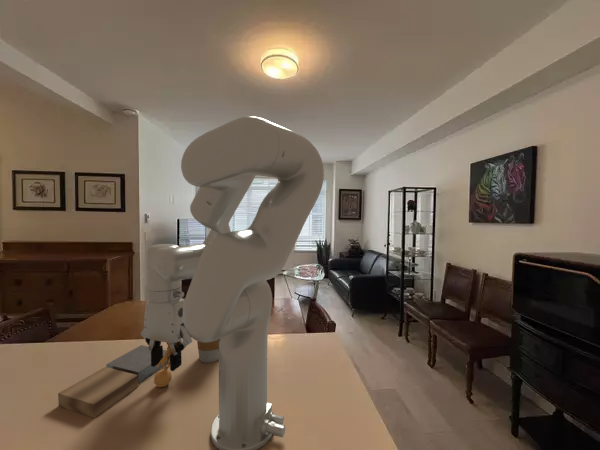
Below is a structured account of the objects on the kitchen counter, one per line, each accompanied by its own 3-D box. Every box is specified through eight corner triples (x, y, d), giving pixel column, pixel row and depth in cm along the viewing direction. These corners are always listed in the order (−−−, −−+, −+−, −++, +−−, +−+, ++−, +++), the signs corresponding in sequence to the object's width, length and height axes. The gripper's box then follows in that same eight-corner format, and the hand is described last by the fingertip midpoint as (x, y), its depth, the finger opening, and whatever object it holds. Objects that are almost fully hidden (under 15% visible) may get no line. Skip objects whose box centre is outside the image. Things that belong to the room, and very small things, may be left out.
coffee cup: (219, 365, 80) (219, 313, 79) (190, 364, 80) (189, 313, 79) (227, 350, 88) (227, 303, 87) (201, 350, 89) (200, 303, 88)
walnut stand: (138, 386, 70) (138, 375, 70) (94, 417, 60) (93, 404, 60) (105, 378, 74) (105, 366, 73) (58, 406, 63) (58, 393, 63)
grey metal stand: (170, 361, 82) (170, 351, 82) (138, 383, 72) (138, 372, 71) (141, 354, 85) (141, 345, 85) (106, 375, 75) (106, 364, 75)
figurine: (165, 375, 75) (164, 331, 74) (186, 377, 74) (186, 333, 74) (144, 395, 67) (143, 347, 66) (168, 398, 66) (167, 348, 65)
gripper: (204, 293, 70) (204, 364, 71) (150, 287, 75) (151, 352, 77) (182, 303, 63) (184, 381, 64) (124, 295, 68) (127, 367, 69)
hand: (166, 365), depth 70 cm, fingers open, 5 cm apart
